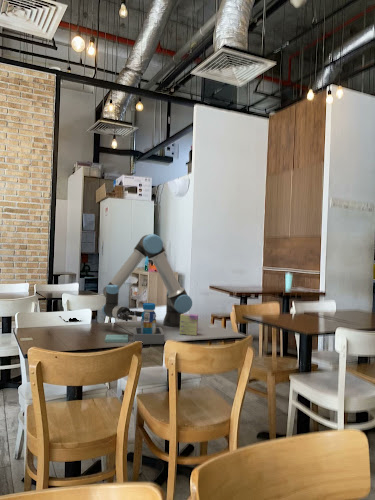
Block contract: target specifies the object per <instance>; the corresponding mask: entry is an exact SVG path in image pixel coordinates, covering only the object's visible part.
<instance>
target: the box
mask: <svg viewBox="0 0 375 500" xmlns="http://www.w3.org/2000/svg"><path fill="white" fill-rule="evenodd" d="M198 326H199V314H195V313H194V314H193V313H184V314H181V315H180V326H179V335H182V334H186V336H198V329H199V328H198Z"/></svg>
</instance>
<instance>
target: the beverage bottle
mask: <svg viewBox="0 0 375 500" xmlns="http://www.w3.org/2000/svg"><path fill="white" fill-rule="evenodd" d="M142 309H143V311H142V312H143V313H142V315H141V317H140V318H141V319H140V323H141V324H140V327H141V334H156V327H157V319H156V318H157V314H156V312H155V310H156V303H155V302H154V303H152V302H144V303H142Z"/></svg>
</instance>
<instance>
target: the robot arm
mask: <svg viewBox="0 0 375 500" xmlns="http://www.w3.org/2000/svg"><path fill="white" fill-rule="evenodd" d="M146 258H148V260H151V261H152V262H153V264H154V267H155V269H156V271H157V273H158V275H159V276H160V278H161V280H162V283H163V285H164V286H165V288H166V290H167V291H166V309H165V310H166V311H165V316H164V317H163V321H162V322H163V323H162V324H163V326H166V327H176V328H177V327H179V328H180V315H181V314H187V312H189V311H190V310H191V309H192V307H193V299H192V298H191V296H189V295H188V293H187V291H186V290H185V288H184V287H181V285H180V282H179V280H178V279H177V277H176V274H175V273H174V270H173V269H172V266H171V264H170V263H169V261H168V258H167V257H166V249H165V247H164V243H163V240H162V238H161V237H160V236H159V235H157V234H155V233H150V234H145V235H143V236H142V237H141V238H140V239H139V241H138V242H137V243H136V246H135V247H134V248H133V252H132V253H131V254H130V256H129V257H128V258H127V259H126V261H125V262H124V263H123V265H122V266H121V267H120V269H119V270H118V271H117V272H116V274H115V275H114V276H113V277H112V279H111V280H110V282H108V284H107V285H106V286H104V288H103V290H102V294H103V296H104V297H105V304H104V305H102V308H101V313H102V315H103V316H105V317H108V318H112V319H117V320H122V321H125V322H129V321H131V322H136V323H137V322H138V318H139V317H140V318H142V317H141V315H142V313H143V311H139V310H130V307H126V306H122V305H119V292H120V289H121V288H122V286H123V285H124V284H125V282H126V281H127V280H128V278H129V277H130V276H131V274H132V273H134V271H135V270H136V268H137V266H138V265H140V263H142V261H143V259H146Z"/></svg>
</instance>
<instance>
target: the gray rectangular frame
mask: <svg viewBox="0 0 375 500" xmlns="http://www.w3.org/2000/svg"><path fill="white" fill-rule="evenodd" d="M132 328H133V332H132V333H133V334H132V337H133V339H132V340H133V343H134V342H135V341H142V342H143V344H142V345H164V344H165V333H164V329H163V328H162V327H160V326H159V327H158V326H156V334H141V326H135V327H134V326H133V327H132Z"/></svg>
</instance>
